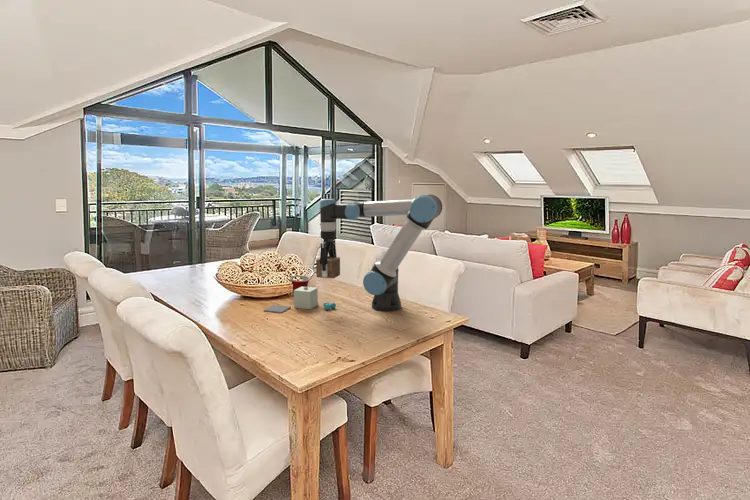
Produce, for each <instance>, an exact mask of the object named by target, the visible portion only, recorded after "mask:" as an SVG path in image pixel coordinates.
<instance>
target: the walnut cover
mask: <svg viewBox="0 0 750 500" xmlns="http://www.w3.org/2000/svg"><path fill="white" fill-rule="evenodd" d="M315 261H316V262H315V263H316V264H315V268H316V272H315V273H316V278H319V279H320V278H323V279H333V280H334V279H335V278H337V277H339V276H341V257H339V256H337V257H330V256H329V255H328V258H327V269H328V277H322V264H320V257H318V258H317V259H316V260H315Z"/></svg>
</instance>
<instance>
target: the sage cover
mask: <svg viewBox="0 0 750 500" xmlns="http://www.w3.org/2000/svg"><path fill="white" fill-rule="evenodd" d="M318 299H319V295H318V287H311V286H310V287H309V286H307V287H300V288H298V289H296V290H294V293H293V307H294V309H302V310H303V309H304V310H305V309H306V310H311V309H314V308H315V307H316V306H317V305H318V304H319V303H318V302H319V300H318Z"/></svg>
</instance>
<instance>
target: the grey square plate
mask: <svg viewBox="0 0 750 500" xmlns="http://www.w3.org/2000/svg"><path fill="white" fill-rule="evenodd" d="M291 308H292V306H291V305H290V306H289V305H279V304H278V305H277V304H272V305H271V306H269V307H267V308H265V309H263V312H268V313H269V312H270V313H277V314H278V313H279V314H282V313H284V312H286V311H287V310H290V309H291Z"/></svg>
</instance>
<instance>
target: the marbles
mask: <svg viewBox="0 0 750 500" xmlns="http://www.w3.org/2000/svg"><path fill="white" fill-rule="evenodd" d="M323 307H324V309H325V310H327V311H329V310H330V309H336V307H337V304H336V303H335V302H331V303H330V302H328V301H325V302H323Z"/></svg>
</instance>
